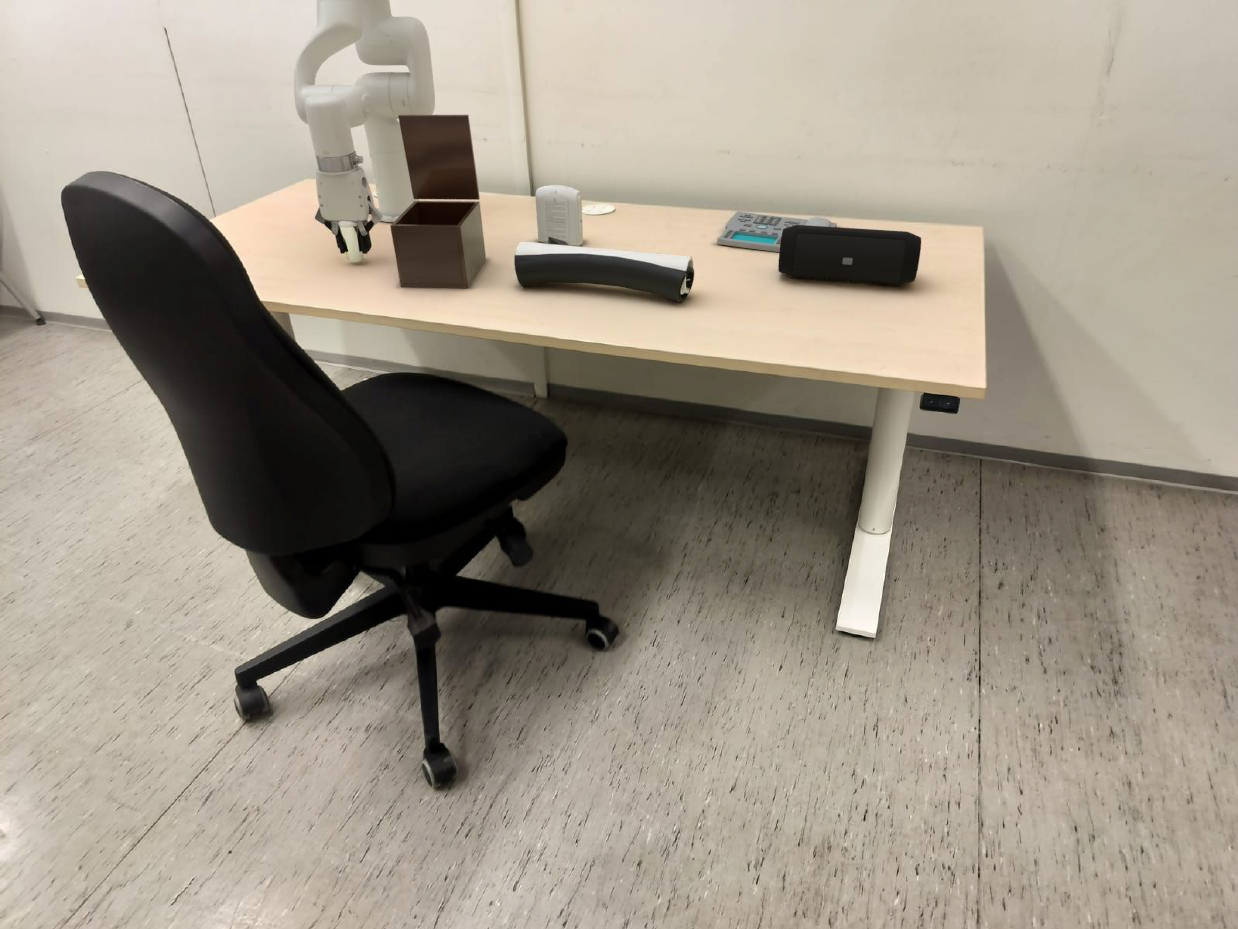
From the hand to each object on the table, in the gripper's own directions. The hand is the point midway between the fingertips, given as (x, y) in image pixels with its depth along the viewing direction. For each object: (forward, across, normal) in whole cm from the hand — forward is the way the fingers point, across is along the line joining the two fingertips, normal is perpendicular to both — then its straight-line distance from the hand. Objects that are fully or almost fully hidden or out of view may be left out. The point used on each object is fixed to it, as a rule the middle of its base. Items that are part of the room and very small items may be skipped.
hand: (355, 250), depth 178 cm
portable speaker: (+3, -100, +5) cm, 100 cm away
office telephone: (+3, -88, -20) cm, 90 cm away
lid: (-18, -20, -2) cm, 27 cm away
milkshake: (+2, 0, 0) cm, 2 cm away
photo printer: (+3, -41, -14) cm, 44 cm away
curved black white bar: (+3, -54, +10) cm, 55 cm away
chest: (+3, -20, +5) cm, 21 cm away
